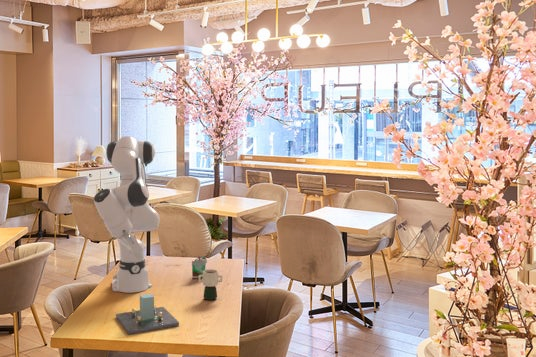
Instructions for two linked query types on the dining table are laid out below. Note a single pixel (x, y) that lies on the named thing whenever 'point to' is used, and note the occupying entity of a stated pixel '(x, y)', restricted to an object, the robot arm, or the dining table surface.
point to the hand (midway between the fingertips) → (136, 255)
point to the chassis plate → (146, 321)
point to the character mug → (210, 283)
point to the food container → (198, 267)
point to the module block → (147, 306)
